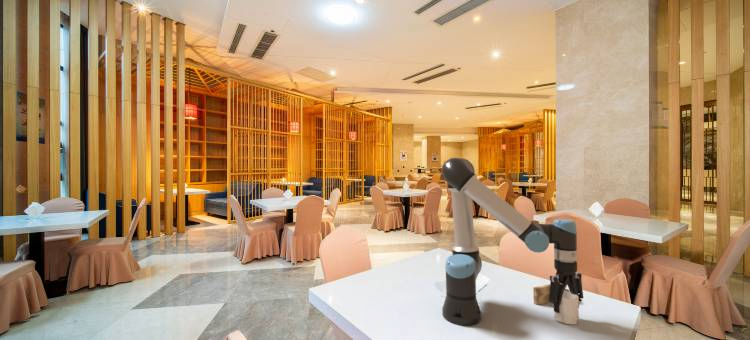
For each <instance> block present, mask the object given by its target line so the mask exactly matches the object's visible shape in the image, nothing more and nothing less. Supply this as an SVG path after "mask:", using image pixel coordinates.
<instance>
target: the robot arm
mask: <svg viewBox="0 0 750 340" xmlns="http://www.w3.org/2000/svg"><path fill="white" fill-rule="evenodd" d="M441 175H442V178H443V180H444V181H445V182H446V186H447V190H448V191H450V194H451V204H452V205H451V206H452V219H453V231H454V232H453V233H454V234H453V235H454V246H452V248H451V249H452V250H451V252H452V253H451V254H452V255H449V256H448V257H447V258H446V260H445V265H444V269H445V289H446V291H445V293H446V294H445V299H444V301H443V302H444V303H443V306H442V308H441V309H442V310H441V311H442V316H443V318H444V319H445V320H447V322H449V323H453V324H454V325H455V324H456V325H461V326H472V325H476V324H478V323H480V322H481V321H482V311H481V308H480V305H479V302H478V300H477V285H476V283H477V278H478V276H479V274H480V272H481V271H482V267H483V265H482V258H481V256H480V248H479V246H477V245H476V240H475V239H476V237H475V229H474V226H475V225H474V214H473V202H475V203H476V204H477V205H478V206H480V207H481V208H482V209H483V210H485V211H486V213H488V214H490V215H491V216H492V217H493V218H494V219H496V220H497V221H498V223H500V224H501V225H503V226H504V227H505V228H507V230H509V232H511V233H512V234H514V235H515V237H517V238H518V239H519V240H520V241H522V242H523V243H524V244H525V246H526V248H527V249H529V251H532V252H533V253H543V252H546V251H547V249H548V248H549V246H550V244H553V258H554V261H553V266H554V267H553V268H554V269H555V270H556V273H555V275H554V276H553V275H550V276H549V280H550V284H549V285H550V293H549V301H550V302H549V303H552V304H553V312H554V320H556V321H558V322H560V323H562V322H563V315H562V304H560V303H561V300H562V296H563V292H564V289H567V287H568V290H569V292H571V293H572V294H574V295H578V296H579V303H578V317H577V320H578V319H579V318H580V316H579V315H580V314H579V312H580V311H579V309H580V302H582V301H583V300H582V299H584V292H583V282H582V276H583V275H582V273H579V272H578V243H577V241H578V238H577V237H578V236H577V234H578V233H577V223H576V222H575V221H574V220H571V219H565V218H556V219H553V221H552V223H550V224H549V223H537V222H536V223H533V222H532V221H531V220H530V219H528V218H527V217H526V216H524V215H523V214H522V213H520V212H519V210H517V209H515V208H514V207H513V206H512V205H510V203H508V202H507V201H506V200H505V199H503V197H500V196H499V195H498V194H497V193H496V192H494V190H492V189H491V188H490V187H488V186H487V185H486V184H484V183H483V182H482V181H480V180H479V178H477V177H478V176H477V174H476V172H475V168H474V165H473V164H472V162H471V161H469V159H466V158H461V157H451V158H449V159H447V160H446V161H445V162H444V163H443V165H442V166H441ZM472 201H473V202H472ZM560 283H561V284H560ZM562 284H563V285H562ZM557 300H558V301H557Z"/></svg>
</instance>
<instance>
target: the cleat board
mask: <svg viewBox="0 0 750 340" xmlns="http://www.w3.org/2000/svg"><path fill="white" fill-rule="evenodd" d="M560 284H561V283H560ZM562 285H563V284H562ZM532 288H533V290H532V291H533V304H534V305H537V306H538V305H541V304H546V303H547V304H548V303H551V302H550V301H549V293H550V284H545V285H540V286H539V285H538V286H534V287H532ZM564 291H568V292H570V290H569V288H565V289H564Z"/></svg>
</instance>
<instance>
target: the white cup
mask: <svg viewBox="0 0 750 340" xmlns="http://www.w3.org/2000/svg"><path fill="white" fill-rule="evenodd" d="M557 301H558V300H557ZM578 303H579V304H580V301H579V296H578V295H574V294H572V293H571V292H570V291H569V292H568V291H564V292H563V296H562V300H561V303H560V304H562V315H563V322H561V323H563V324H566V325H577V324H578V319H577V317H578V310H579V308H578Z"/></svg>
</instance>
